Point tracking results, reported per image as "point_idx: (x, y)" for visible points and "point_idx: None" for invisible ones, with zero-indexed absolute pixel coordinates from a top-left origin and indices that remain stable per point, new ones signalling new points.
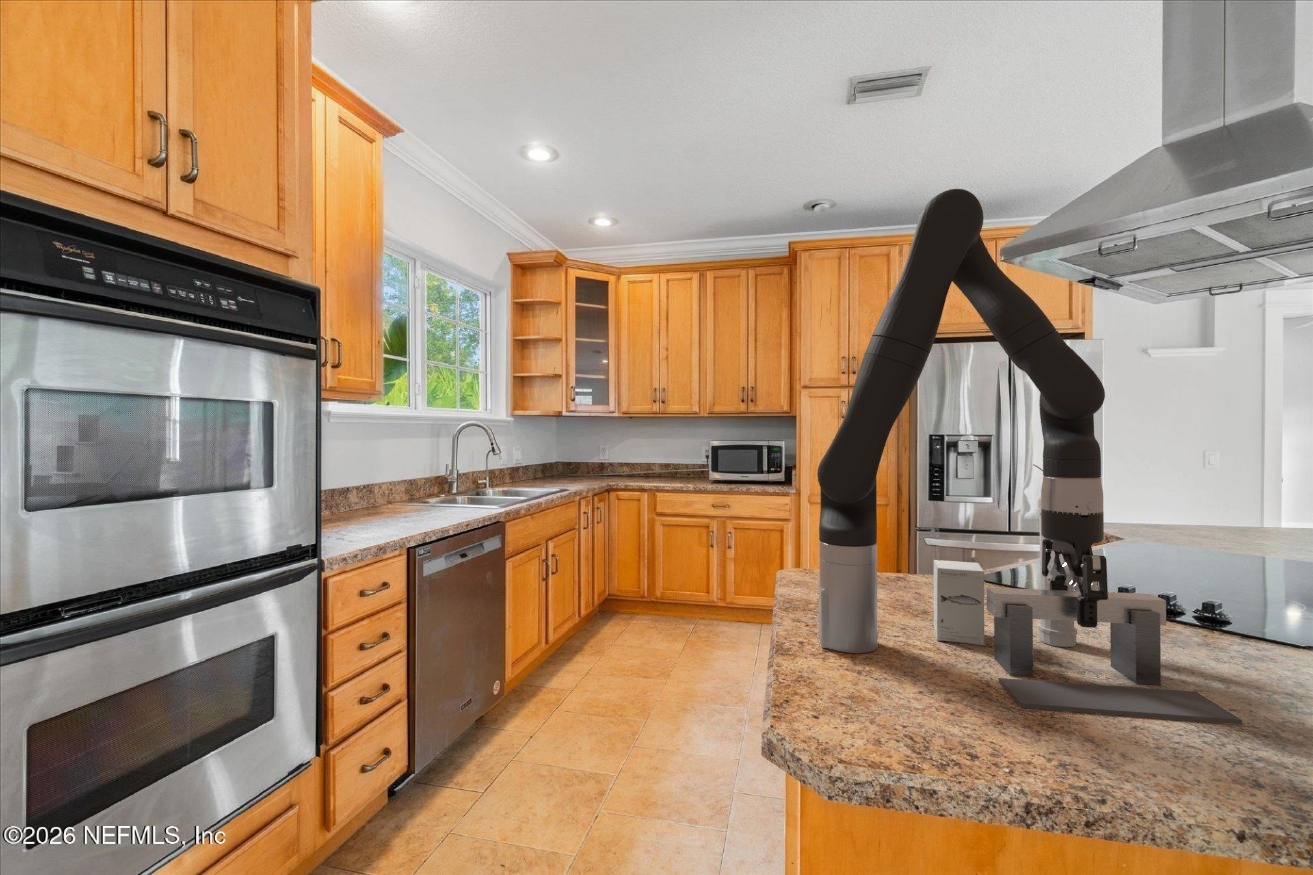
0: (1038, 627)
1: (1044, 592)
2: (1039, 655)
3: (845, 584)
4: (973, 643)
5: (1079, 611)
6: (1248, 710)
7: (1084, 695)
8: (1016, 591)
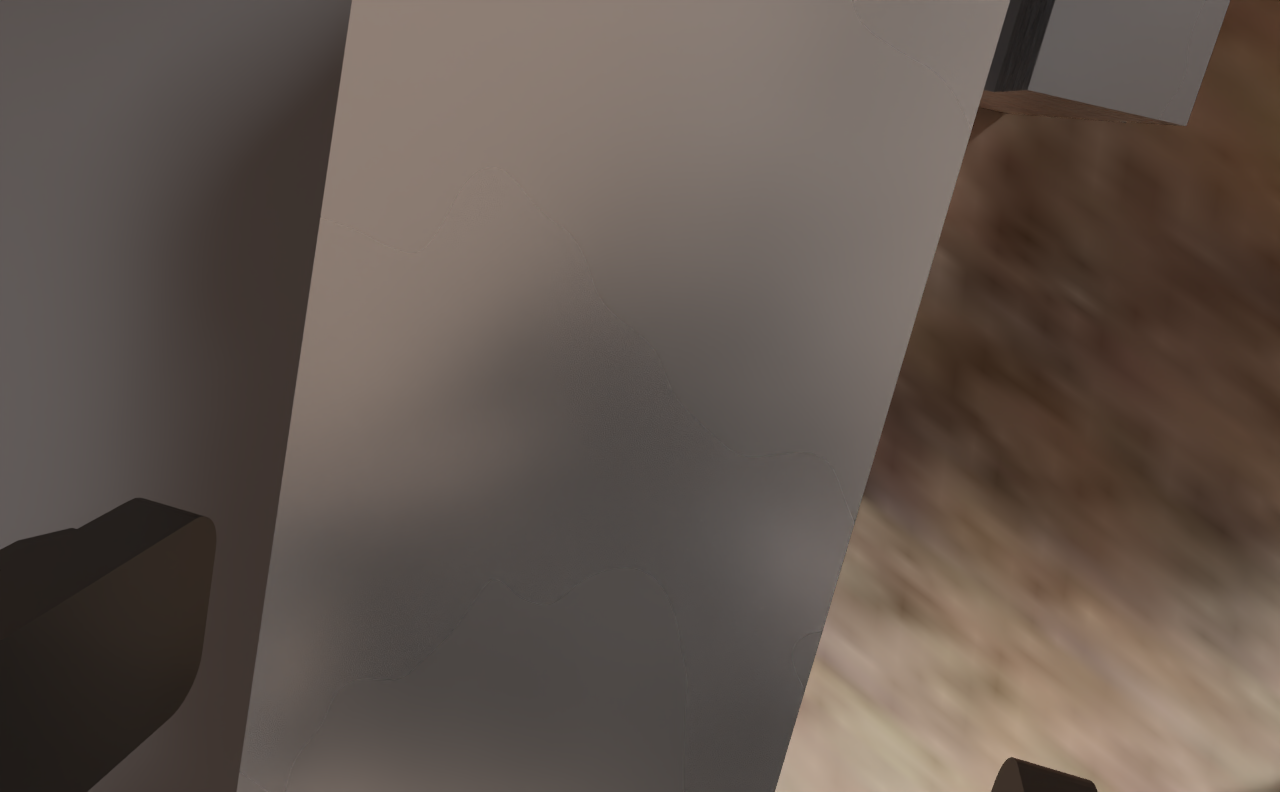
0: None
1: (567, 482)
2: (1107, 452)
3: None
4: None
5: (14, 569)
6: None
7: (125, 139)
8: None
